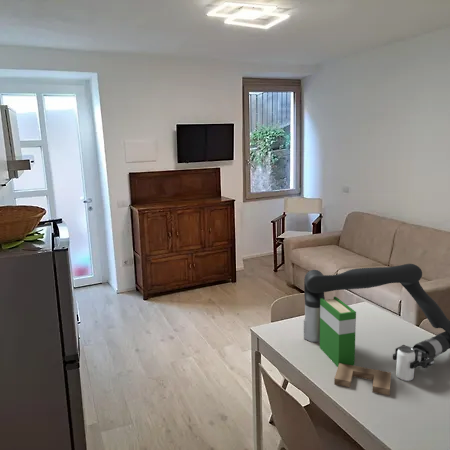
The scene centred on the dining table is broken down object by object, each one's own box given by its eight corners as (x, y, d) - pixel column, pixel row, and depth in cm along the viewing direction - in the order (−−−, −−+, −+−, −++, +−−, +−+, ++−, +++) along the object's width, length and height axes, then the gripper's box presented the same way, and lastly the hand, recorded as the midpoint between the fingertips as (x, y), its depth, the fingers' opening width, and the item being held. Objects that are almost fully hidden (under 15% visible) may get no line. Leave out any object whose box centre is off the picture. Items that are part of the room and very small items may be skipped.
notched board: (334, 384, 159) (334, 378, 158) (339, 368, 169) (339, 362, 169) (389, 395, 150) (389, 389, 150) (390, 378, 161) (391, 372, 161)
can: (415, 382, 158) (417, 353, 156) (397, 380, 159) (399, 352, 157) (411, 372, 164) (413, 345, 162) (394, 371, 166) (395, 344, 163)
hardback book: (319, 347, 187) (320, 298, 182) (334, 345, 188) (335, 296, 183) (338, 367, 170) (339, 314, 165) (354, 365, 171) (356, 312, 166)
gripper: (412, 334, 173) (386, 345, 165) (445, 348, 161) (419, 361, 152) (411, 350, 174) (386, 362, 166) (443, 365, 162) (418, 379, 154)
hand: (402, 361), depth 159 cm, fingers open, 7 cm apart
